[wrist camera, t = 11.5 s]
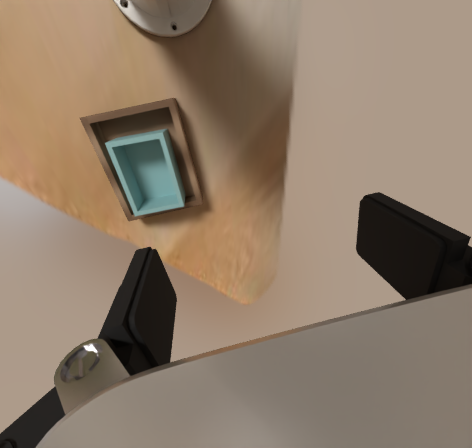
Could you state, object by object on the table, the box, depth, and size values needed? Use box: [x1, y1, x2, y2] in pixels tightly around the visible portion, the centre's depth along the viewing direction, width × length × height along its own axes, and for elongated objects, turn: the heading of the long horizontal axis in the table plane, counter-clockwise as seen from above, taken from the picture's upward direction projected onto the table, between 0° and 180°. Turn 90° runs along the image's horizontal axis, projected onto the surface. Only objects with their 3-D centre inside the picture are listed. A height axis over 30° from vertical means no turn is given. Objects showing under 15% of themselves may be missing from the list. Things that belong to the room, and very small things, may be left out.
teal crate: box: [105, 129, 186, 216], centre depth 32 cm, size 10×7×5 cm
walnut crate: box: [80, 98, 203, 221], centre depth 33 cm, size 15×12×4 cm
